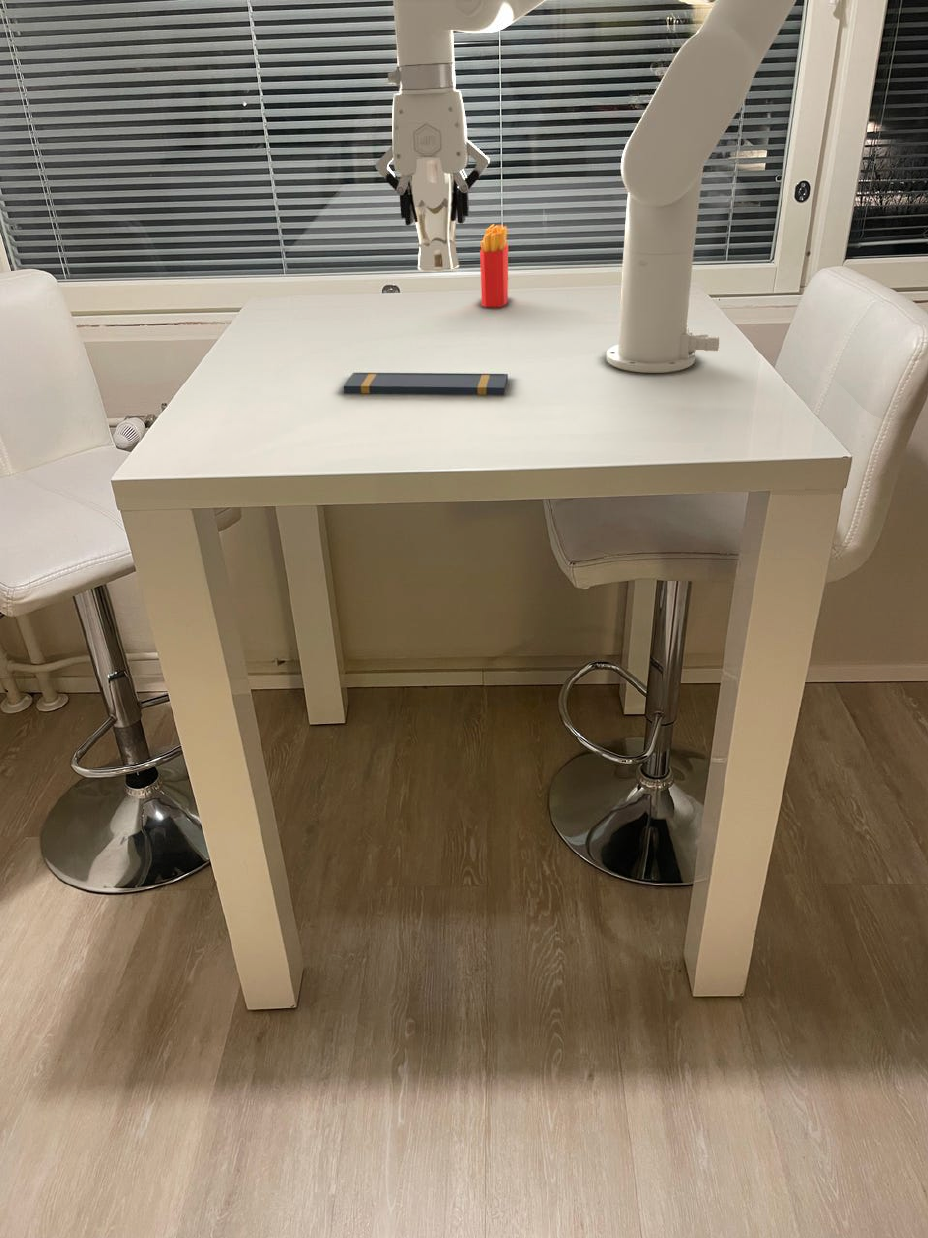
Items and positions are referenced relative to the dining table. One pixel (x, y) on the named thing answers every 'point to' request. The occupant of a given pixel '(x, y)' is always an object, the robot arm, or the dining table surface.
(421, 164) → the beer glass
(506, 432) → the dining table surface
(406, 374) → the blue striped flat box
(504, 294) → the french fries
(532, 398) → the dining table surface
